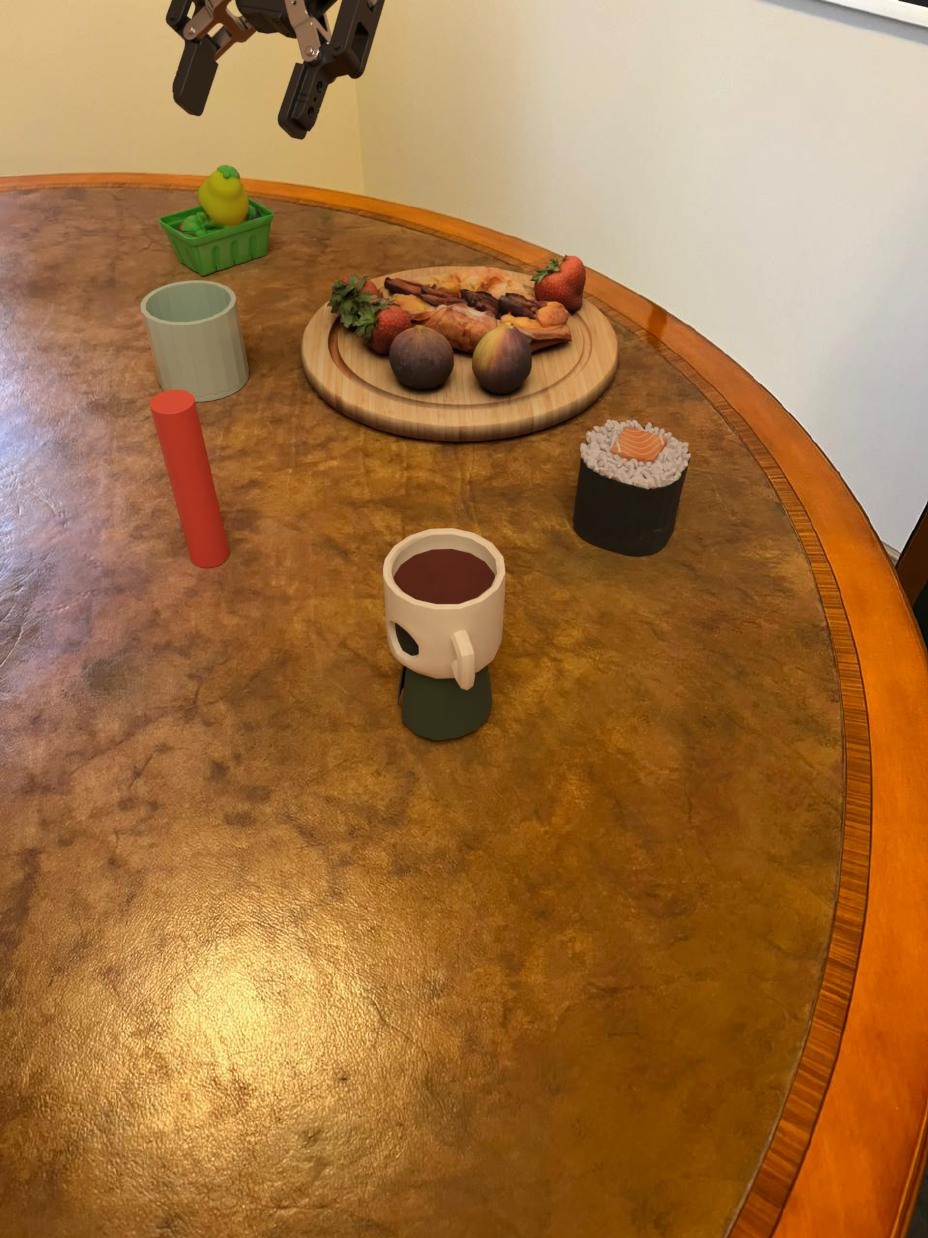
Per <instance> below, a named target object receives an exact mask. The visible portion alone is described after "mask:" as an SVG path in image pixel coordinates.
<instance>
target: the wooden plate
mask: <svg viewBox="0 0 928 1238" xmlns="http://www.w3.org/2000/svg"><path fill="white" fill-rule="evenodd" d="M549 261H551V262H550V263H549V262H546V261H544V264H545V265H546V266H545V268H543V269H541V270H540V269H535V268H533V271H535V272H537V273H536V274H534V275H530V274H527V273H522V272H518V271H513V270H507V269H502V268H500V267H494V266H490V267H487V266H485V265H477V266H469V265H468V266H467V265H466V266H464V265H447V266H445V265H443V266H431V267H430V266H429V267H421V268H420V267H419V268H412V269H406V270H401V271H397V272H393V273H392V272H391V273H388V274H385V275H381V276H377V277H374V278H371V279H369V278H370V277H371V274H370V275H364V276H363V277H360V276H359V275H356V274H355V273H353V274H351V275H348V276H345V277H343V278H342V279H340V280H339V281H338V280H335V283H334V284H333V286H331V287H330V288H331V295H330V297H328V301H326V302H325V303H323V305H322V306H321V307H319V309H318V310H316V312H315V313H314V314H313V315H312V317H311V318H310V319H309V320H308V323H307V325H306V327H305V328H304V330H303V332H302V335H301V339H300V345H299V356H300V363H301V366H302V370H303V372H304V375H305V378H306V379H307V381H308V383H309V384H310V386H311V387H312V388H313V389H314V391H315V392H316V393H317V394H318V396H319V397H320V398H321V399H323V400H324V401H325V402H326V403H327V404H328V405H329V406H331V407H332V408H334V409H335V410H336V411H338V412H340V413H341V414H343V415H344V416H346V417H349V418H350V419H352V420H355V421H356V422H359V423H361V424H363V425H365V426H368V427H371V428H373V429H376V430H378V431H381V432H386V433H390V434H394V435H397V436H401V437H402V436H403V437H407V438H412V439H413V438H414V439H419V440H428V441H435V442H453V443H454V442H458V443H460V442H486V441H494V440H500V439H508V438H513V437H514V438H515V437H518V436H523V435H527V434H532V433H535V432H538V431H541V430H544V429H547V428H550V427H553V426H556V425H558V424H560V423H563V422H566V421H567V420H569V419H571V418H573V417H575V416H577V415H579V414H580V413H583V411H585V410H586V409H587V408H589V407H590V406H591V405H593V403H595V402H596V401H597V400H598V399H599V398H600V397H601V396H602V395H603V394H604V393H605V391H606V390H607V389H608V388H609V386H610V385H611V384H612V381H613V380H614V378H615V376H616V374H617V371H618V368H619V363H620V355H621V354H620V344H619V340H618V337H617V333H616V331H615V329H614V327H613V326H612V325H611V322H610V321H609V319H608V318H607V317H606V316H605V315H604V313H602V311H600V310H599V308H598V307H597V306H596V305H594V304H593V303H592V302H591V301H589V300H587V299H586V298H584V297H583V296H584V290H585V286H586V281H587V270H586V267H585V264H584V262H583V261H582V260H581V258H579V257H578V256H577V255H567V254H564V255H563V257H562V259H561V261H559V259H558V258H557V255H555V257H554V258H549Z"/></svg>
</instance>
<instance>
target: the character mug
mask: <svg viewBox="0 0 928 1238" xmlns="http://www.w3.org/2000/svg"><path fill="white" fill-rule="evenodd" d="M382 567H383V568H382V581H383V582H382V583H383V584H382V585H383V594H384V595H383V596H384V597H383V598H384V613H385V614H384V616H385V628H386V638H387V644H388V648H389V650H390V653H391V654H392V656H393V658H394V659H395V660H397V662H398V663H400V664H401V665H402V666H401V670H400V678H399V683H398V694H397V707H398V708H399V707H400V698H401V695H402V700H401V701H402V702H401V721H402V723H403V724H404V725H405V726H406V727H408V728H409V729H410V731H412V732H413V733H414V734H415V735H417V736H420V737H424V738H426V739H429V740H432V741H435V742H436V741H445V740H453V739H458V738H460V737H463V736H465V735H467V734H469V733H472V732H474V731H477V730H478V729H479V728H480V727H482V725H483V724H484V723H485V722H486V721H487V720H488V719H489V718H490V714H491V711H492V705H493V696H492V693H493V692H492V683H491V678H490V671H489V664H490V663H491V662H493V661H494V659H495V657H496V655H497V653H498V651H499V649H500V647H501V643H502V641H503V634H504V633H503V631H504V615H505V597H506V583H507V581H506V579H507V577H506V566H505V559H504V555H503V554H502V553H501V552H500V551H499V549H498V548H497V547H496V545H494V543H493V542H491V541H490V540H488V539H485V537H482V536H480V535H479V534H477V533H475V532H472V531H467V530H462V529H458V528H454V527H448V528H447V527H445V528H443V527H442V528H429V529H426V530H422V531H419V532H417V533H412V534H410V535H408V536H407V537H405V538H404V539H402V540H400V541H399V542H398V543H396V544H395V545H394V546H393V547H392V548H391V550H390V551H389V553H388V554H387V555H386V557H385V558H384V563H383V566H382Z"/></svg>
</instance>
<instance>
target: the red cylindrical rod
mask: <svg viewBox="0 0 928 1238" xmlns="http://www.w3.org/2000/svg"><path fill="white" fill-rule="evenodd" d="M149 401H150V402H149V408H150V413H151V416H152V419H153V423H154V427H155V431H156V434H157V439H158V442H159V446H160V450H161V453H162V457H163V461H164V465H165V468H166V472H167V476H168V480H169V483H170V487H171V491H172V494H173V498H174V502H175V506H176V509H177V513H178V517H179V520H180V524H181V528H182V532H183V537H184V539H185V543H186V547H187V550H188V554H189V557H190V561H191V562H192V563H193V565H195V566H196V567H199V568H202V569H211V568H215V567H219V566H221V565H222V564H224V563H225V562H226V561H227V560H228V558H229V557H230V548H229V544H228V539H227V535H226V531H225V526H224V522H223V521H224V520H223V517H222V513H221V508H220V504H219V499H218V495H217V491H216V486H215V482H214V478H213V474H212V468H211V465H210V464H211V463H210V461H209V454H208V450H207V447H206V443H205V442H206V441H205V439H204V433H203V428H202V425H201V421H200V416H199V411H198V407H197V402H195V398H194V396H193V395H192V394H191V393H190V392H188V391H184V390H168V391H162V392H159V393H157V394H156V395H154V396H153V397H152V398H151V399H150V400H149Z"/></svg>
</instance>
